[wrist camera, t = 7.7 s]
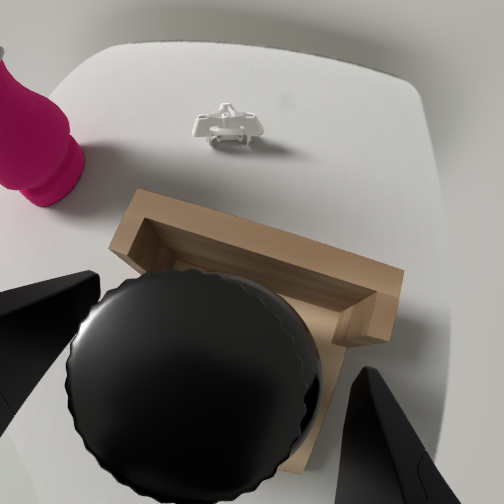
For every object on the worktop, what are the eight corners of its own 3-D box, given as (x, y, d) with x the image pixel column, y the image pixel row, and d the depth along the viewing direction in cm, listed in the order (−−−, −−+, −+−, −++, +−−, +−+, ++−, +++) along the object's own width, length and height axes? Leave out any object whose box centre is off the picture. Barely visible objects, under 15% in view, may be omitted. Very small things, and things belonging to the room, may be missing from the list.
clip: (195, 151, 22) (186, 117, 19) (197, 132, 23) (190, 98, 19) (263, 150, 22) (264, 115, 19) (263, 131, 23) (264, 95, 19)
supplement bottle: (290, 309, 17) (356, 214, 6) (293, 429, 15) (364, 539, 4) (168, 311, 17) (44, 225, 6) (169, 428, 15) (44, 512, 4)
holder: (299, 469, 15) (321, 522, 9) (113, 401, 17) (50, 416, 10) (355, 301, 19) (404, 270, 12) (173, 242, 20) (137, 188, 13)
